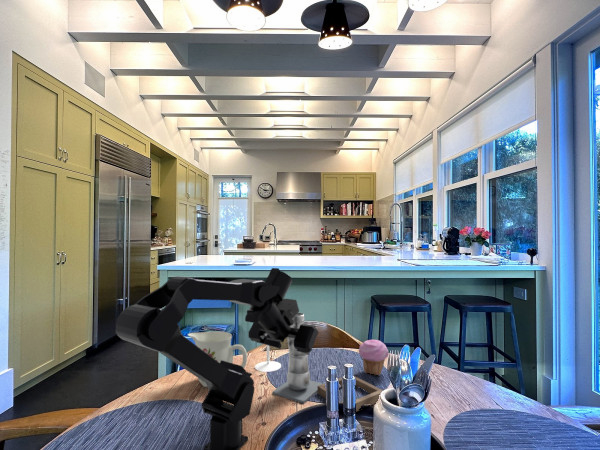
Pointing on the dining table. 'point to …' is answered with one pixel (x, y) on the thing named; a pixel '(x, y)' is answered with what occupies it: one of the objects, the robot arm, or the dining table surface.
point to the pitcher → (217, 347)
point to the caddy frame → (367, 399)
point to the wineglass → (268, 364)
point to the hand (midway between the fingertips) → (294, 349)
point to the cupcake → (373, 356)
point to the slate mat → (297, 392)
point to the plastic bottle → (297, 361)
